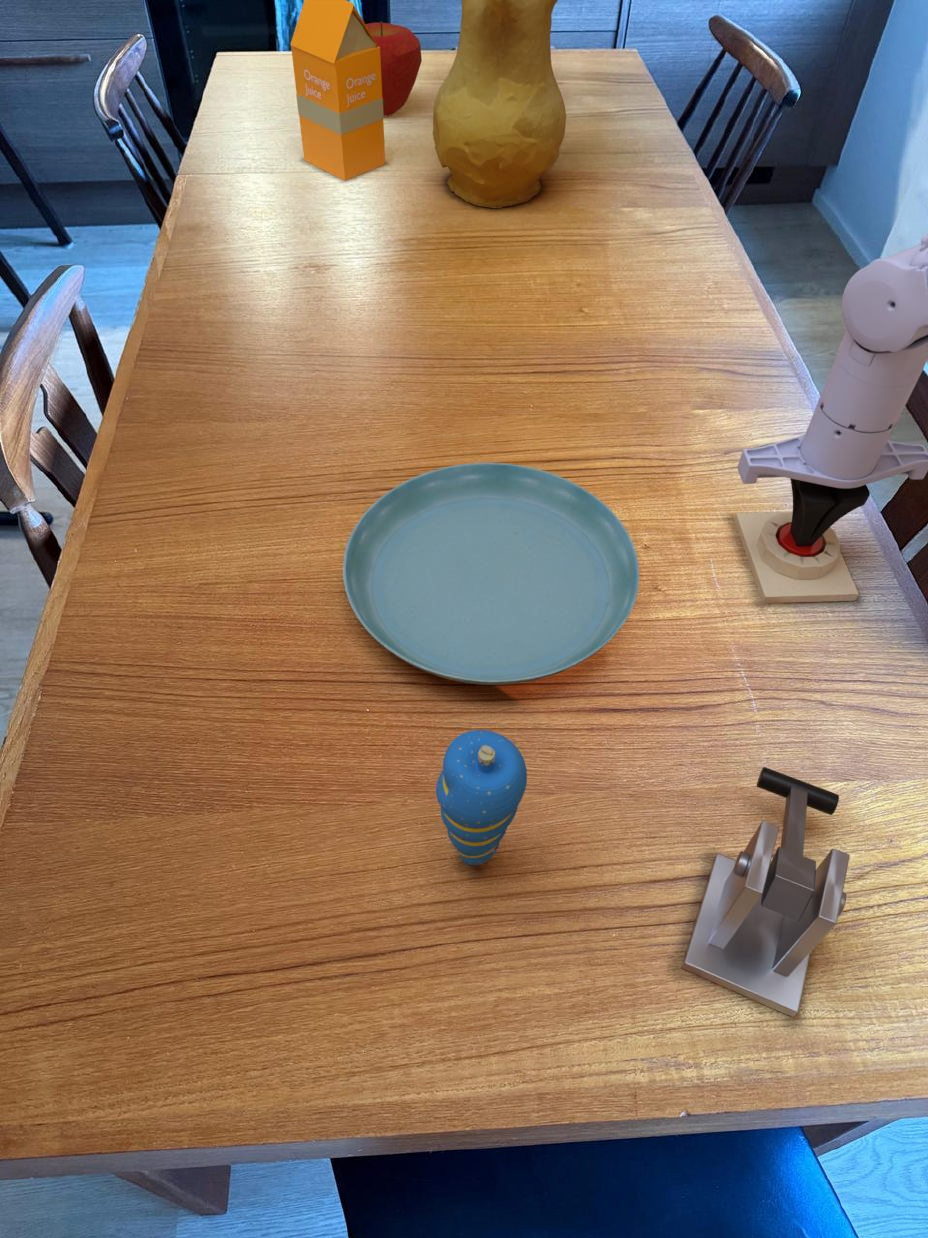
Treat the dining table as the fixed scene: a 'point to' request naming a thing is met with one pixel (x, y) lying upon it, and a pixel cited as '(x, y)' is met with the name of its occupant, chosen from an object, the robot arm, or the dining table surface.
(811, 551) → the button
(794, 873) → the lever
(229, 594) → the dining table surface
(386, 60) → the apple
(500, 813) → the ornament
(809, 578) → the button block
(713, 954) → the bracket
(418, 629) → the teal plate
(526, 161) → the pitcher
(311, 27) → the orange juice
